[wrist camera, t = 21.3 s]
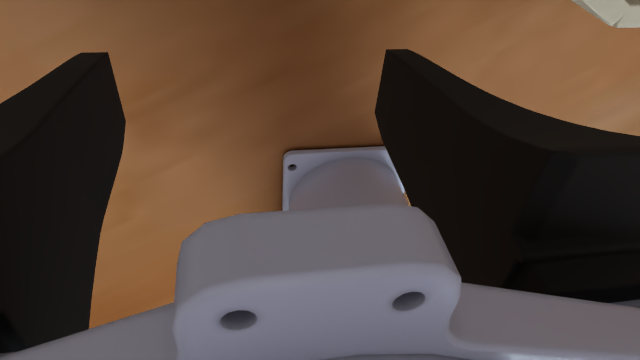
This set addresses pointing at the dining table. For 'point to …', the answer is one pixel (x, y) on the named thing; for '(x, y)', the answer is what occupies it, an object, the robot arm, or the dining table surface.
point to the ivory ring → (614, 11)
